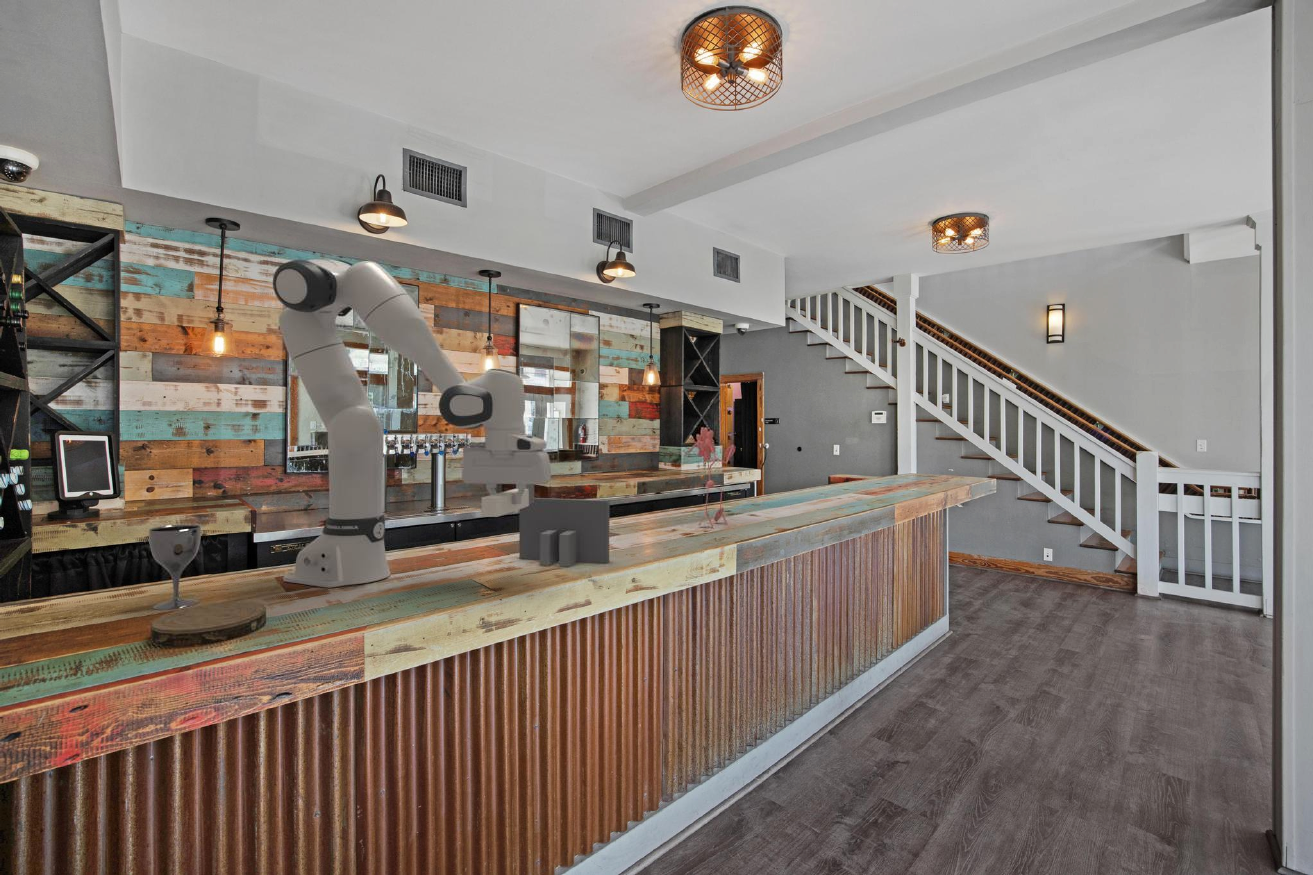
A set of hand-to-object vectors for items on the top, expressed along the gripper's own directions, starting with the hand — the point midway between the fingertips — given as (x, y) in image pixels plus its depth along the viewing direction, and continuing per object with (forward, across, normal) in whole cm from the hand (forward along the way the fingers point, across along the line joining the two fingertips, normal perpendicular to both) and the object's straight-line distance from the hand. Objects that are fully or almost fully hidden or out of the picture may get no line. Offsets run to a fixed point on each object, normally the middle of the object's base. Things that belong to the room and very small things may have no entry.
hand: (506, 503), depth 138 cm
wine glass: (+17, -55, -31) cm, 65 cm away
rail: (+2, 0, +3) cm, 3 cm away
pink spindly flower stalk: (+19, +32, +91) cm, 98 cm away
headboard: (+18, +4, +20) cm, 27 cm away
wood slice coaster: (+17, -34, -42) cm, 57 cm away
